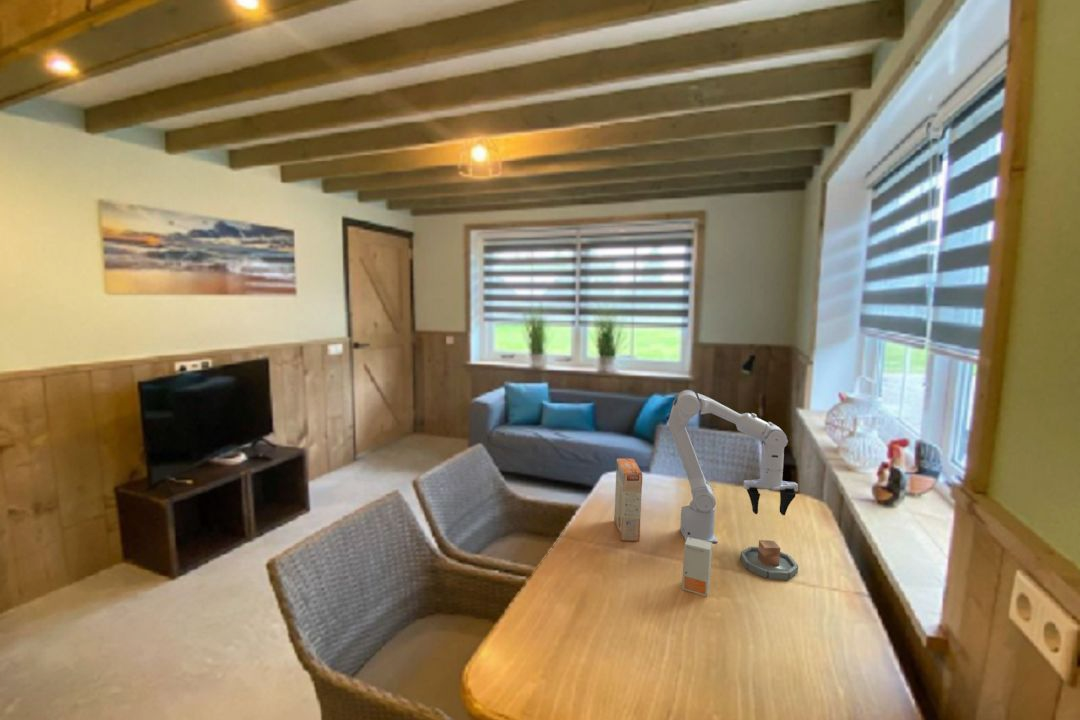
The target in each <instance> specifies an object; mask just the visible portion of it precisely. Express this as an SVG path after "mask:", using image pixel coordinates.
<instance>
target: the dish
mask: <svg viewBox="0 0 1080 720" xmlns="http://www.w3.org/2000/svg"><path fill="white" fill-rule="evenodd" d="M739 559H740V561H741V563H742V564H743V566H744V567H745V569H746V570H747V571H749V572H751V573H754V574H756V575H758V576H761V577H763V578H764V579H768V580H782V581H784V580H785V581H788V580H791V579H792V578H794V576H796V575H797V574H798V572H799V564H798V563H797V562H796V561H795V560H794V559H793V557H792V556H791V555H789V554H788V553H785V552H783V551H780V561H779V566H766V565H763V564H762V563H761V561H760V560H759V558H758V546H748V547H747V548H746V549H743V550H742V551H740V558H739Z"/></svg>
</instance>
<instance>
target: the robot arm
mask: <svg viewBox="0 0 1080 720" xmlns="http://www.w3.org/2000/svg"><path fill="white" fill-rule="evenodd" d="M670 411H671V412H670V414H669V418H668V423H667V424H668V429H669V431H670V433H671V436H672V439H673V442H674V444H675V447H676V450H677V452H678V455H679V458H680V460H681V463H682V466H683V468H684V472H685V474H686V476H687V479H688V483H689V486H690V492H691V496H692V500H691V502H690V503H689V505H685V506H681V510H680V525H679V526H680V527H679V530H680V532H681V534H682V536H683V539H684V540H685V542H686V539H687V537H690V538H694V539H700V540H703V541H707V542H711V543H718V542H719V540H718V539H717V537H716V535H715V518H716V517H715V516H716V515H715V514H716V503H717V502H716V498H715V496H714V492H713V487H712V485H711V484H710V483H709V482H708V481H707V480H706V478H705V475H704V473H703V470H702V467H701V465H700V462H699V460H698V459H699V458H698V457H697V454H696V451H695V448H694V446H693V444H692V441H691V437H690V435H689V433H688V430H687V428H686V427H687V425H688V424H689V422H690V420H691V419H693V417H695V416H696V415H697V414H698V413H699V414H700V415H706V414H712V415H715V416H717V417H719V418H721V419H723V420H726V421H727V422H730V423H732V424H734V425H735V426H736V430H737V431H739V432H741V433H742V434H745V435H747V436H749V437H751V438H753V439H755V440H757V441H759V442H762V449H761V457H760V458H761V459H760V473H759V475H760V476H759V479H750V480H749V479H748V480H746V479H745V480H743V484H742V486H743V488H744V489H745V490H746V491H747V495H748V496H749V499H750V504H751V508H752V509H751V510H752V513H754V514H755V515H758V513H759V500H760V497H761V493H760V492H759V490H772V491H779V497H780V499H779V500H780V501H779V513H780V514H781V515H782V516H786V514H787V511H788V509H789V507H790V504H791V503H792V501H793V500H794V499H795V498H796V492H799V484H798V483H796V482H795V481H785V480H783V475H784V474H783V472H784V458H785V454H784V453H785V447H786V446H787V445H788V442H789V440H788V436H787V435H786V433H785V432H784V431H783V429H781V428H780V426H777V425H776V424H774V423H773V422H771V421H768V422H767V421H765V420H763V419H761V418H759V417H758V416H757V414H756V413H753V412H751V413H749V412H745V413H739V412H737V411H735V410H733V409H731V408H729V407H728V406H726V405H723V404H721V403H720V402H718V401H716V400H715V399H713V398H710V397H708V396H706V395H703V394H702V393H701V394H700V393H696V392H694V390H690V389H684V390H681V391H680V392H678V394H677V395H676V397H675V398H674V400H673V402H672V407H671V410H670Z"/></svg>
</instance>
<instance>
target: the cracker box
mask: <svg viewBox="0 0 1080 720" xmlns="http://www.w3.org/2000/svg"><path fill="white" fill-rule="evenodd" d="M615 468H616V469H615V492H614V493H615V495H614V516H613V517H614V519H613V521H614V524H615V526H616V530H617V533H618V536H619V539H620V541H621V542H640V536H641V534H640V533H641V516H642V515H641V513H642V512H641V511H642V510H641V509H642V491H643V476H644V475H643V472H642V471H641V469H640V467H639V466H638V464H637V462H636V460H635V459H634V458H616V467H615Z"/></svg>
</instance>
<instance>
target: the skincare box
mask: <svg viewBox="0 0 1080 720" xmlns="http://www.w3.org/2000/svg"><path fill="white" fill-rule="evenodd" d="M713 543H714V542H707V541H703V540H700V539H694V538H690V537H687V539H686V541H685V542H684V546H683V548H684V549H683V562H682V563H683V564H682V565H683V566H682V578H681V579H682V582H681V590H682V591H686V592H689V593H694V594H697V595H700V596H703V597H707V596H708V595H709V594H708V593H709V591H710V590H709V589H710V586H711V570H712V569H711V568H712V567H711V566H712V555H713V554H712V553H713Z"/></svg>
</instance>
